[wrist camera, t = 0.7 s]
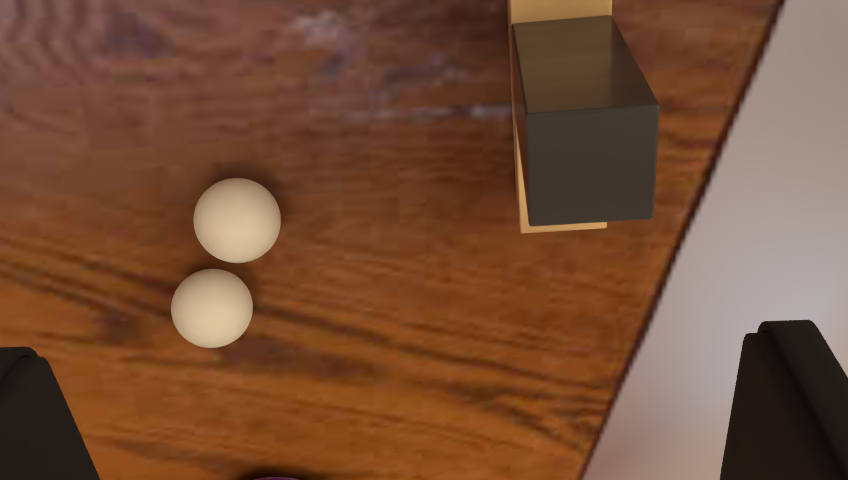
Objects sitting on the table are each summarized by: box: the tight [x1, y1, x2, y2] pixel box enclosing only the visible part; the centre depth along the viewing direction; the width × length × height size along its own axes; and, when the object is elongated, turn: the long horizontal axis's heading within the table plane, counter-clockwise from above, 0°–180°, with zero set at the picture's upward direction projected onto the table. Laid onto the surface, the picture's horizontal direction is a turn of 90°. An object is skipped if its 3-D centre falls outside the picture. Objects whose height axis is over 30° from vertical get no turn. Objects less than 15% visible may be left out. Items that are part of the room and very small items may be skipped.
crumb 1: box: [194, 178, 281, 263], centre depth 29 cm, size 3×3×3 cm
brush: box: [507, 0, 660, 233], centre depth 22 cm, size 12×3×10 cm, turn 6°
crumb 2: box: [171, 269, 253, 348], centre depth 32 cm, size 3×3×3 cm
